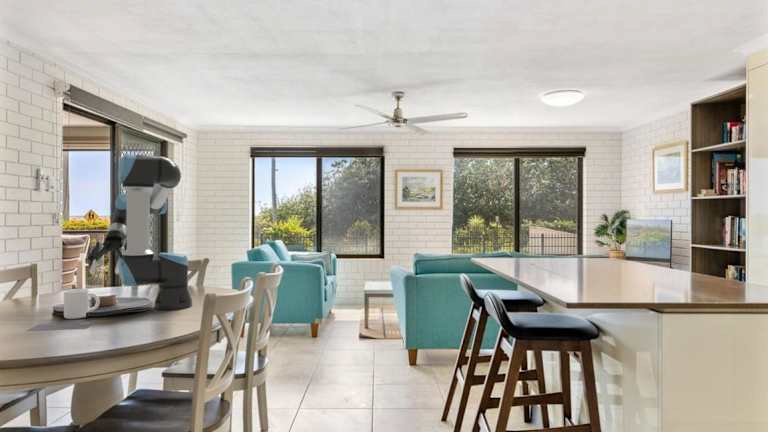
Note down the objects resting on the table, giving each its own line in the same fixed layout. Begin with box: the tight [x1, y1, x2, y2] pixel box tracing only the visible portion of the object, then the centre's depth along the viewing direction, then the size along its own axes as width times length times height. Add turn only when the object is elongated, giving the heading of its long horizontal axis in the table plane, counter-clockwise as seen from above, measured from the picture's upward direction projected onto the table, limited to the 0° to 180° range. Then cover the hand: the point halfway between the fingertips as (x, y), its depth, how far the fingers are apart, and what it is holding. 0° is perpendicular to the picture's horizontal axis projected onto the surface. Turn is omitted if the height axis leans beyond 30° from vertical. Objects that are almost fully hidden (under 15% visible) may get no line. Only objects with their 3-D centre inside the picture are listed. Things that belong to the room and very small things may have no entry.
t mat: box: [26, 319, 96, 332], centre depth 175 cm, size 19×14×1 cm
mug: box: [63, 288, 101, 320], centre depth 188 cm, size 12×8×10 cm
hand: (103, 272), depth 210 cm, fingers open, 9 cm apart
